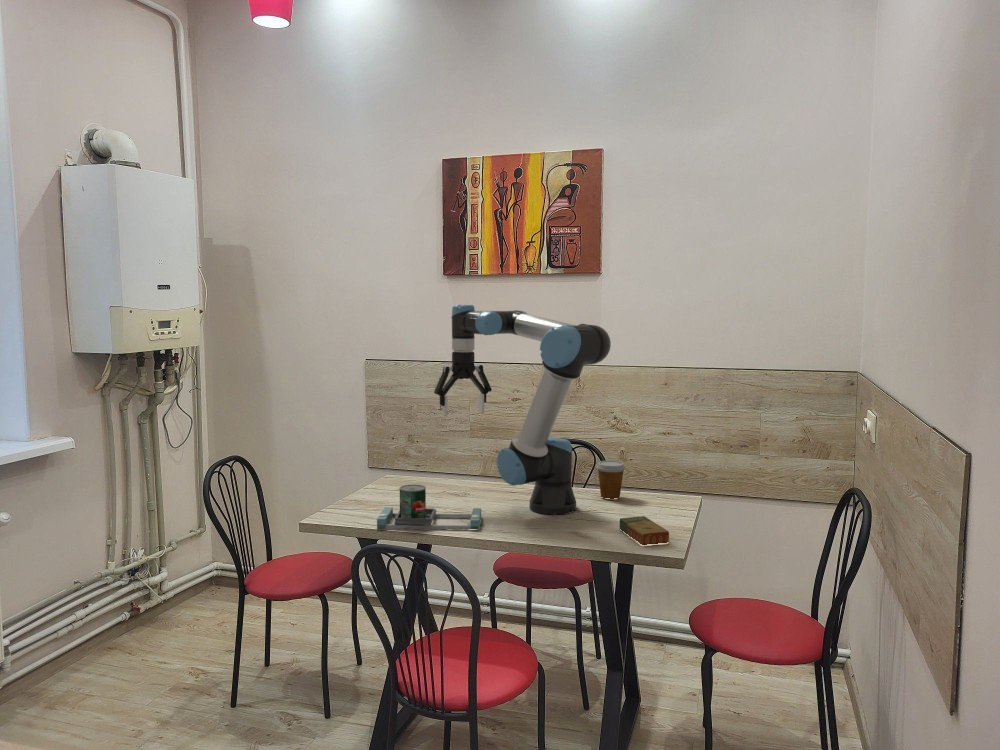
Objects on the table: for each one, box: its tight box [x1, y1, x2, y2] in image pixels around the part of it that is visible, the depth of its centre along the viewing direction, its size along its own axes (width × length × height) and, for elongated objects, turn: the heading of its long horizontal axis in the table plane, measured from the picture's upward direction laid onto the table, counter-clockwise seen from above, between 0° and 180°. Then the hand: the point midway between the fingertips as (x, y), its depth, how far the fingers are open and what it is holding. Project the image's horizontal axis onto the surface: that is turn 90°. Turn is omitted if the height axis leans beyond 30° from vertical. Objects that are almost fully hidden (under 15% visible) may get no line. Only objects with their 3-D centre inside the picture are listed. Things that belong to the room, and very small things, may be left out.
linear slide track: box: [376, 506, 482, 530], centre depth 231 cm, size 30×13×3 cm, turn 88°
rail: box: [376, 512, 480, 530], centre depth 231 cm, size 30×13×1 cm, turn 88°
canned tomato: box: [399, 484, 427, 518], centre depth 231 cm, size 8×8×11 cm
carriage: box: [393, 508, 437, 525], centre depth 231 cm, size 11×13×2 cm
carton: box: [619, 515, 670, 545], centre depth 219 cm, size 8×16×4 cm, turn 14°
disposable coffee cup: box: [596, 460, 626, 499], centre depth 260 cm, size 10×10×12 cm
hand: (463, 414), depth 258 cm, fingers open, 13 cm apart
